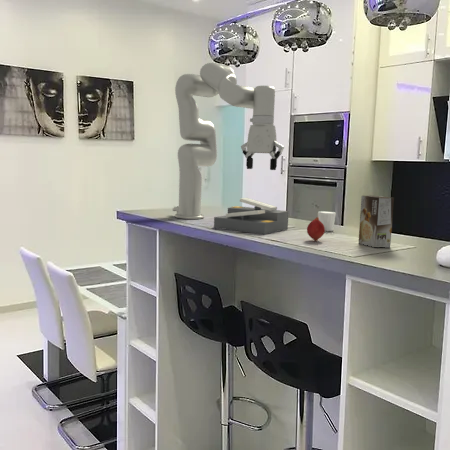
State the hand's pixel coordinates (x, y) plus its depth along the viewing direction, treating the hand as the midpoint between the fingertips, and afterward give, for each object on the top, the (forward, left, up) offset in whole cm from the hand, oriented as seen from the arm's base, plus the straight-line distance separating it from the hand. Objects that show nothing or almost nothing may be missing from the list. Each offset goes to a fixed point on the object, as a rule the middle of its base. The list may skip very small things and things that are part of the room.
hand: (261, 169), depth 184 cm
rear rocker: (-5, +8, -14) cm, 17 cm away
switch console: (-5, +4, -23) cm, 24 cm away
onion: (+25, -4, -23) cm, 34 cm away
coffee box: (+43, +2, -23) cm, 48 cm away
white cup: (+17, +24, -23) cm, 37 cm away
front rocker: (-5, -1, -17) cm, 18 cm away
